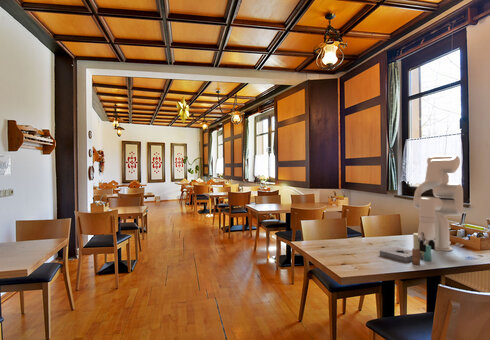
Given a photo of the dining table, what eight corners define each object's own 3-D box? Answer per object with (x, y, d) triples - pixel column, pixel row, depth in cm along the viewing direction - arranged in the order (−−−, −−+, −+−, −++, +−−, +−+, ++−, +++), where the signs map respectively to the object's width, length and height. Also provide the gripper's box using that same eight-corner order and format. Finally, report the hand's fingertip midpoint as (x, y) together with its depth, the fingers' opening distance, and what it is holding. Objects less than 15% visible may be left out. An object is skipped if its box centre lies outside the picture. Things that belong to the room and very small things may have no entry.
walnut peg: (414, 262, 159) (414, 248, 159) (421, 264, 156) (421, 249, 156) (411, 263, 157) (411, 249, 157) (417, 265, 154) (417, 250, 154)
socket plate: (395, 251, 181) (395, 246, 181) (421, 257, 167) (421, 252, 167) (379, 255, 172) (379, 250, 172) (406, 262, 159) (406, 257, 159)
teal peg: (425, 259, 165) (425, 245, 165) (432, 260, 162) (432, 246, 162) (422, 260, 163) (422, 245, 163) (429, 261, 160) (429, 247, 160)
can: (422, 256, 171) (422, 235, 171) (409, 251, 180) (409, 232, 180) (434, 254, 173) (434, 234, 174) (421, 250, 182) (421, 231, 182)
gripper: (427, 218, 170) (427, 247, 170) (411, 219, 161) (411, 250, 161) (441, 219, 164) (442, 250, 164) (426, 221, 155) (426, 253, 154)
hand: (427, 250), depth 162 cm, fingers open, 9 cm apart
